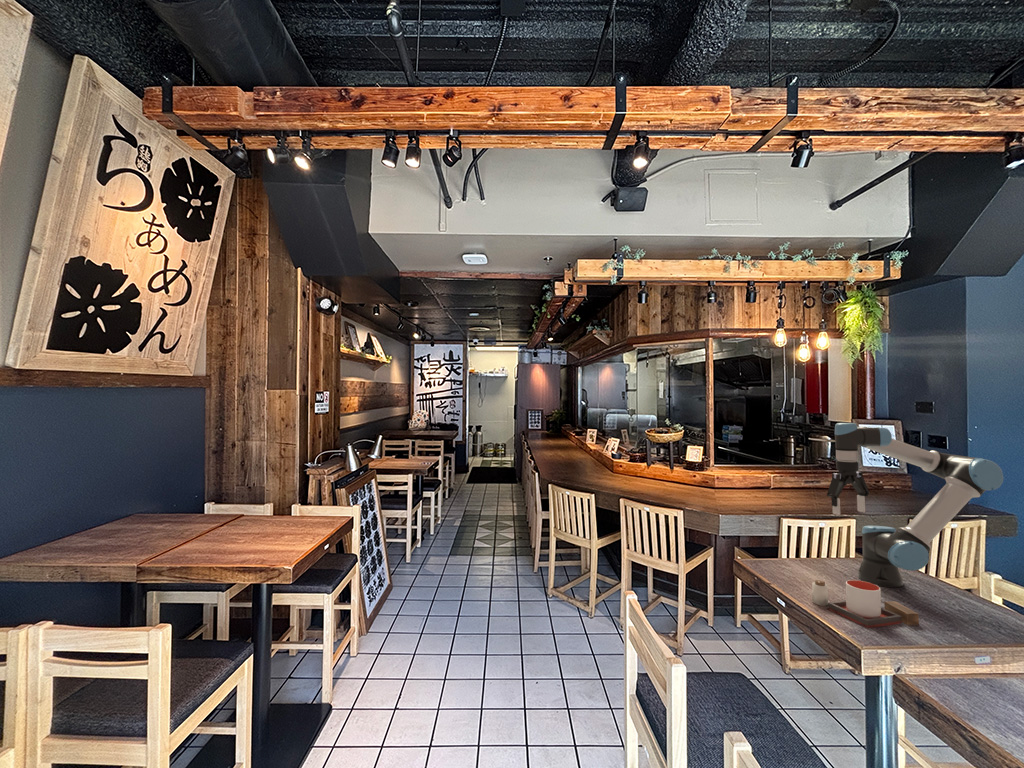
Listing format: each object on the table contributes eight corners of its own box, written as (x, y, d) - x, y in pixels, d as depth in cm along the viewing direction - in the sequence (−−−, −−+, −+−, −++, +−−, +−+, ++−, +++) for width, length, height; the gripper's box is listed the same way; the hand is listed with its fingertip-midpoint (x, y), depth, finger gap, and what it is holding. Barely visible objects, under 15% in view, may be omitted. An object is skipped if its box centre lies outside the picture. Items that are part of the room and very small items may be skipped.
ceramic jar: (819, 599, 182) (819, 578, 183) (831, 605, 178) (831, 583, 178) (809, 601, 181) (809, 579, 181) (820, 606, 176) (820, 584, 177)
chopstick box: (895, 612, 172) (895, 601, 172) (919, 625, 162) (918, 613, 162) (884, 612, 172) (884, 601, 172) (907, 625, 162) (906, 613, 162)
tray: (859, 605, 178) (859, 598, 178) (901, 623, 163) (901, 616, 163) (827, 609, 174) (827, 602, 174) (867, 628, 159) (867, 620, 160)
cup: (887, 621, 163) (886, 591, 163) (855, 618, 165) (854, 589, 165) (871, 608, 173) (870, 581, 173) (840, 606, 175) (840, 578, 175)
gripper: (860, 458, 201) (862, 508, 200) (815, 461, 193) (817, 513, 192) (878, 460, 193) (880, 512, 193) (832, 463, 186) (834, 517, 185)
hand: (849, 513), depth 193 cm, fingers open, 13 cm apart
